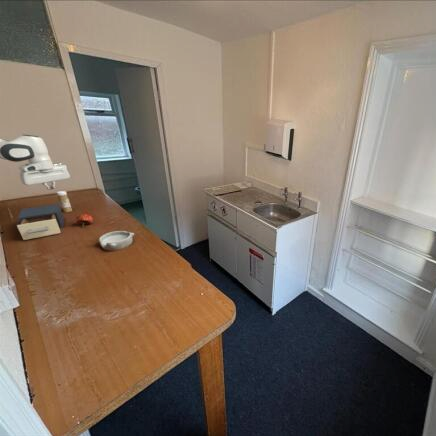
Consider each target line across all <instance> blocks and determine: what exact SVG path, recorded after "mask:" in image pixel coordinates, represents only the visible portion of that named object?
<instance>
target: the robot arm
mask: <svg viewBox="0 0 436 436" xmlns="http://www.w3.org/2000/svg"><path fill="white" fill-rule="evenodd" d="M0 159H1V160H6V161H9V162H13V163H21V162H23V161H28V162H27V163H25V164H21V165H20V166H18V170H19V171H20V172H19V178H20V179H19V180H20V181H21V183H22V184H23V185H24V186H32V185H38V184H42V185H43V186H44V187H46V189H47V190H48V191H49V190H55V189H56V181H62V180H63V181H64V180H68V179H70V178H71V175H70V173H69V170H68V167H67V165H66V164H65V163H63V162H59V163H53V161H52V158H51V157H50V154H49V150H48V147H47V144H46V143H45V141H44V139H43V138H42V137H41V136H38V135H33V134H21V135H20V136H18V137H16V138H15V139H12V140H6V139H3V138H0ZM49 182H50V183H51V184H50V185H48V183H49Z"/></svg>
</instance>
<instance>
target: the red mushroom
mask: <svg viewBox="0 0 436 436" xmlns="http://www.w3.org/2000/svg"><path fill="white" fill-rule="evenodd" d="M75 221H76V223H78V224H79V225H80V226H82V227H81V228H84V226H86V225H91V224H92V223H93V222H94V218H93V216H92V215H91V214H89V213H87V212H85V213H81V214H78V215H77V216H76V217H75Z"/></svg>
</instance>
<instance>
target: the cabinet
mask: <svg viewBox="0 0 436 436" xmlns="http://www.w3.org/2000/svg"><path fill="white" fill-rule="evenodd" d="M62 211H63V210H62V208H61V205H60V203H56V204H47V205H41V206H40V205H39V206H33V207H25V208H22V209H21V211H20V213H19V215H18V217H17V220H18V222H19V225H21V222H22V220H23V219H25V218H31V217H38V216H44V215H51V214H56V216H57V218H58V221H59V229H62V228H64V223H65V217H64V215H63V214H64V213H63V212H62Z"/></svg>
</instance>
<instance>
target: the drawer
mask: <svg viewBox="0 0 436 436" xmlns="http://www.w3.org/2000/svg"><path fill="white" fill-rule="evenodd" d="M16 227H17V229H18V232H19V233H20V236H21V238H22V240H23V241H26V240H32V239H37V238H41V237H48V236H52V235H53V236H54V235H58V234H61V228H59V221H58V218H57V216H56V214H51V215H44V216H38V217H31V218H25V219H23V220H22V222H21V224H16Z"/></svg>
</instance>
